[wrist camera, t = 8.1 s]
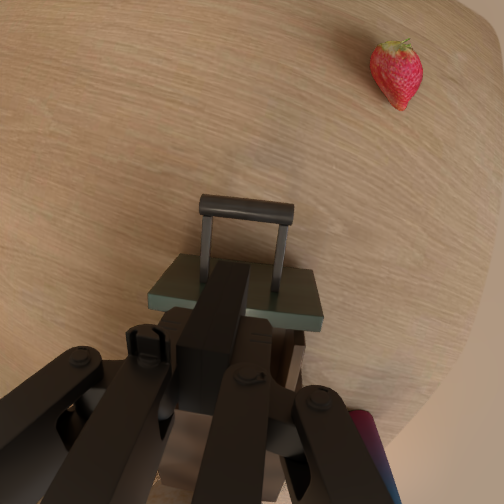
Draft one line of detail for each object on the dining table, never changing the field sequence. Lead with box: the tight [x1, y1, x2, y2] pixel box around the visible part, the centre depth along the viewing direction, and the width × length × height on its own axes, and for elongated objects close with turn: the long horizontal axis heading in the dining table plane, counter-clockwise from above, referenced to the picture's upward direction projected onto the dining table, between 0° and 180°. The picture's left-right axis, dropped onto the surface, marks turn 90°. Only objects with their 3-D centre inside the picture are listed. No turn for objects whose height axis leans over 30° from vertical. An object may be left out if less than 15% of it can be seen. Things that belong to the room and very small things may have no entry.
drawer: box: [148, 194, 324, 403], centre depth 25 cm, size 20×11×8 cm, turn 174°
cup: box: [349, 410, 402, 504], centre depth 27 cm, size 7×7×15 cm
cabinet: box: [158, 368, 302, 502], centre depth 29 cm, size 15×13×10 cm
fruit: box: [370, 38, 423, 111], centre depth 20 cm, size 4×6×5 cm
